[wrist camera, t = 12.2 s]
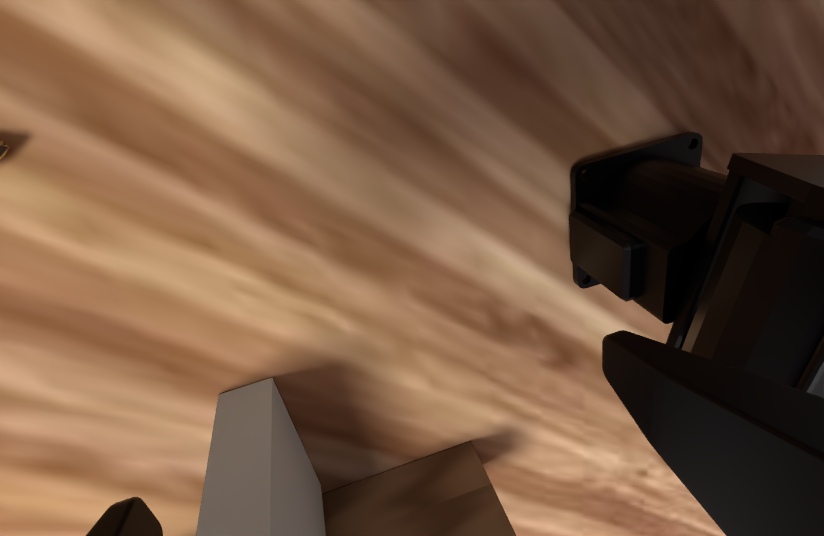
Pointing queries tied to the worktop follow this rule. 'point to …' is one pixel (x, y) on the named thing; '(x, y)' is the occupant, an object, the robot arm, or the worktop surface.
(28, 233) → the worktop surface
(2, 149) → the shard
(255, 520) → the slotted top plate
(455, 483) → the slotted base plate
